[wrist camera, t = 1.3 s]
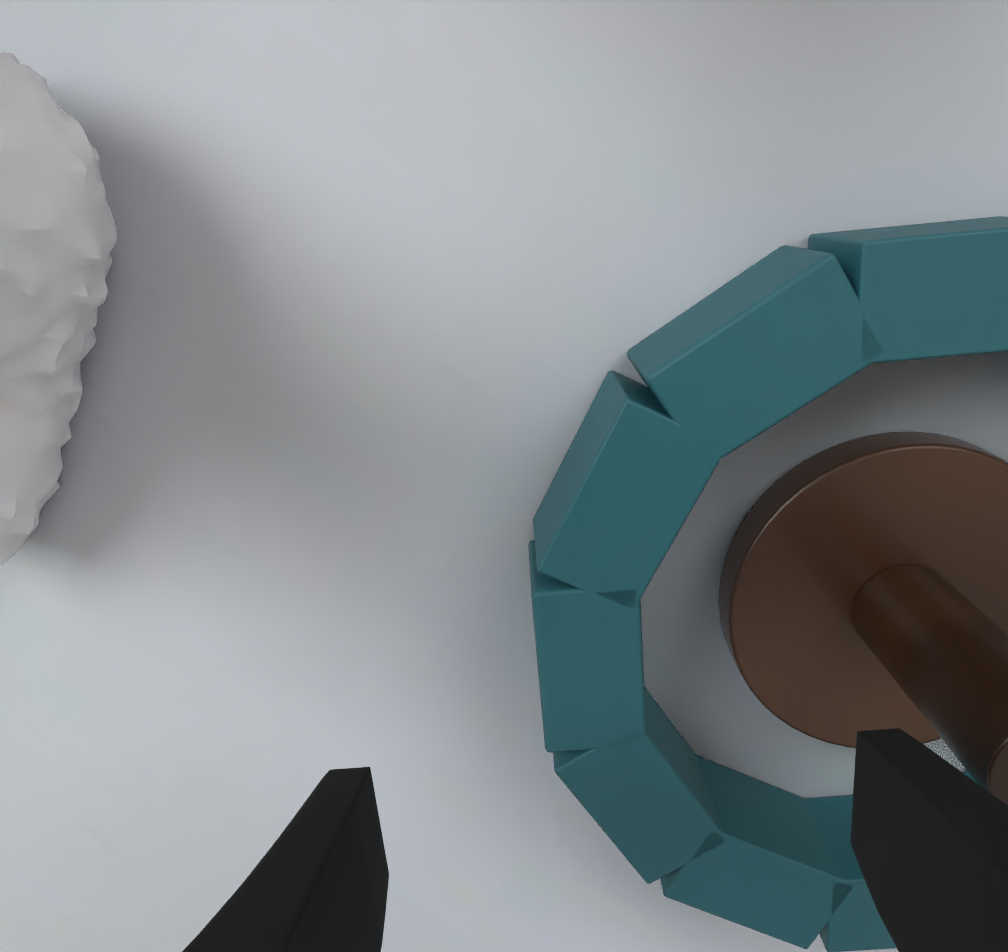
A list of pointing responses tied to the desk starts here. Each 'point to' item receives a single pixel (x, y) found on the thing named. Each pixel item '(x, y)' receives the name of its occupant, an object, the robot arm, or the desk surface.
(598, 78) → the desk surface
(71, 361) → the white creature statuette
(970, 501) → the hanging post
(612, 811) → the hoop
